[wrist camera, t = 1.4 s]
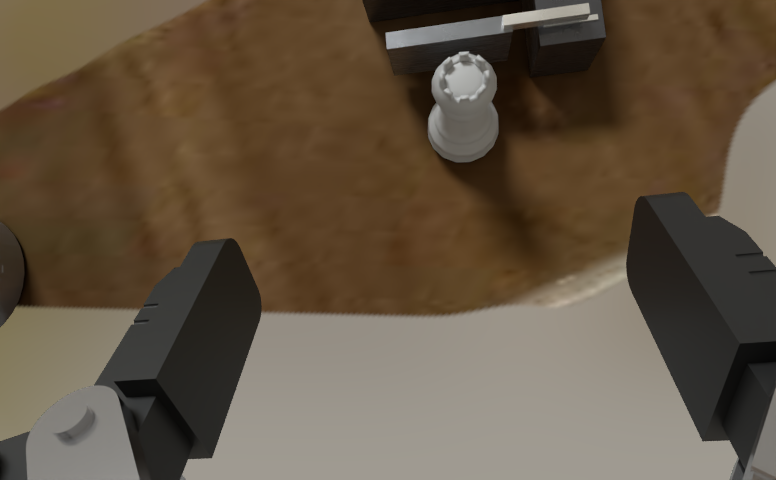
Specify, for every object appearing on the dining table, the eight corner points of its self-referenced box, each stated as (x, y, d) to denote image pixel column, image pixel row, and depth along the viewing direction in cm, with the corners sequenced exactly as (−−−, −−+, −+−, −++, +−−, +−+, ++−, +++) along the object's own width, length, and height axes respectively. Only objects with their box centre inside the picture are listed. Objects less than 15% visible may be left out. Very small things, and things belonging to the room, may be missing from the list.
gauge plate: (394, 75, 32) (385, 45, 28) (393, 60, 32) (384, 28, 28) (574, 51, 30) (590, 16, 27) (572, 36, 31) (588, -1, 27)
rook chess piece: (471, 83, 32) (475, 14, 25) (512, 138, 32) (530, 84, 24) (414, 123, 33) (400, 67, 25) (453, 178, 32) (452, 138, 24)
